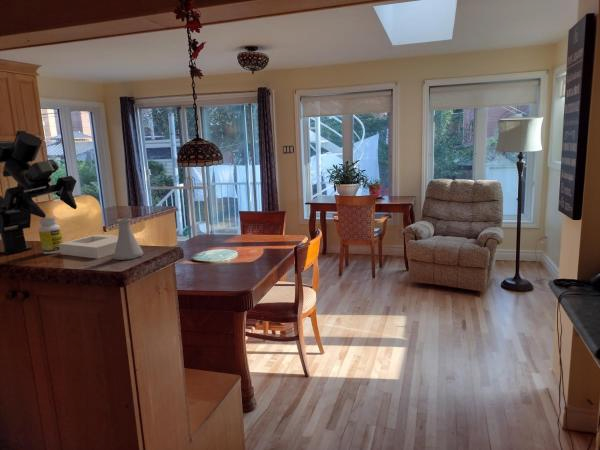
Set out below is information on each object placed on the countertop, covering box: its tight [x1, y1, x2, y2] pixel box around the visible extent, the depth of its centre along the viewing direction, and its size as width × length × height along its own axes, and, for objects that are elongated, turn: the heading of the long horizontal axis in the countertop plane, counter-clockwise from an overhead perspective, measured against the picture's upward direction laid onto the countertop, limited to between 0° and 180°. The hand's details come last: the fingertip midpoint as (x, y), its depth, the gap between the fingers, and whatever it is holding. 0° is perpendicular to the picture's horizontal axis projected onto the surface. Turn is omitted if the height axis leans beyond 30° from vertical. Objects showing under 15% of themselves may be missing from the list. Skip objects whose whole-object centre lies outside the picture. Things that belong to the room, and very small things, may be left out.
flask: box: [113, 218, 144, 261], centre depth 114 cm, size 7×7×10 cm
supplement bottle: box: [38, 216, 64, 255], centre depth 126 cm, size 5×5×10 cm
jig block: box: [59, 233, 119, 260], centre depth 124 cm, size 16×12×3 cm
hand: (60, 212), depth 120 cm, fingers open, 9 cm apart
